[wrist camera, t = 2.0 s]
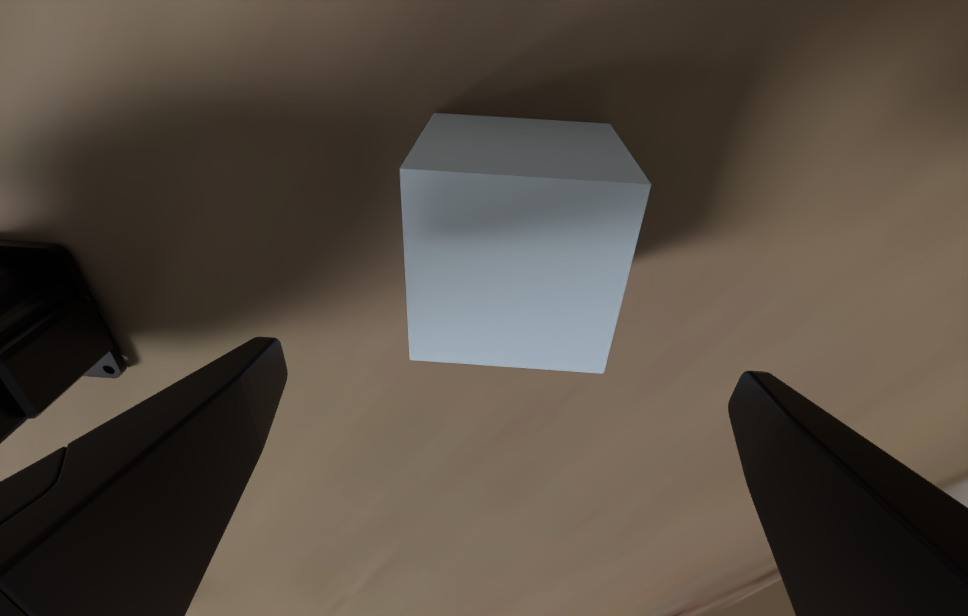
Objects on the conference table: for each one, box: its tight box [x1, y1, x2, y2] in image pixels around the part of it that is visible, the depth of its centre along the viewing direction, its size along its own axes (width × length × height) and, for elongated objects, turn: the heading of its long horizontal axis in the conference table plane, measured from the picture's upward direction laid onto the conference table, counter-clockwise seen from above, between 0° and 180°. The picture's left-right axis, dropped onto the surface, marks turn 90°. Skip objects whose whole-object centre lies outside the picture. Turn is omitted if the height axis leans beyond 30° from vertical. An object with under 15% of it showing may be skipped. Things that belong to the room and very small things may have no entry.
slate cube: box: [400, 113, 651, 374], centre depth 14 cm, size 6×6×6 cm
